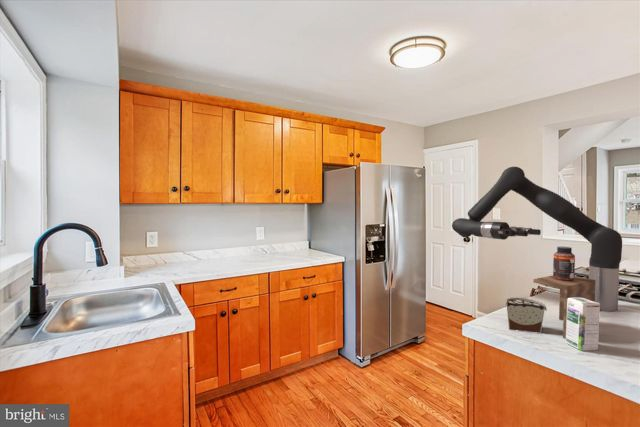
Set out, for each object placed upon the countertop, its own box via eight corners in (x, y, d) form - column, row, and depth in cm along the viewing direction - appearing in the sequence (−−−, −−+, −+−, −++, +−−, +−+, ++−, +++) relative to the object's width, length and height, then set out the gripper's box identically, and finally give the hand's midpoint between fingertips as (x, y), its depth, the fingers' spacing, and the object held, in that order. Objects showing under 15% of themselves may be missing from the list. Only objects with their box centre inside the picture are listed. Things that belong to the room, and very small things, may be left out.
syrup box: (564, 342, 100) (565, 297, 99) (581, 341, 100) (583, 296, 99) (581, 351, 94) (582, 303, 93) (599, 350, 94) (600, 302, 94)
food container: (540, 326, 112) (540, 299, 112) (546, 333, 106) (546, 304, 106) (500, 322, 116) (501, 295, 116) (504, 329, 110) (505, 301, 110)
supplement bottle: (578, 281, 107) (579, 248, 106) (558, 281, 108) (559, 248, 108) (568, 277, 113) (569, 246, 112) (549, 276, 114) (550, 245, 113)
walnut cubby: (560, 318, 119) (561, 273, 118) (594, 328, 110) (595, 279, 109) (532, 327, 112) (533, 279, 111) (565, 338, 102) (567, 286, 102)
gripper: (484, 222, 136) (523, 224, 121) (505, 220, 142) (544, 222, 128) (484, 239, 136) (523, 243, 121) (505, 237, 142) (544, 241, 128)
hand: (533, 233), depth 124 cm, fingers open, 8 cm apart
